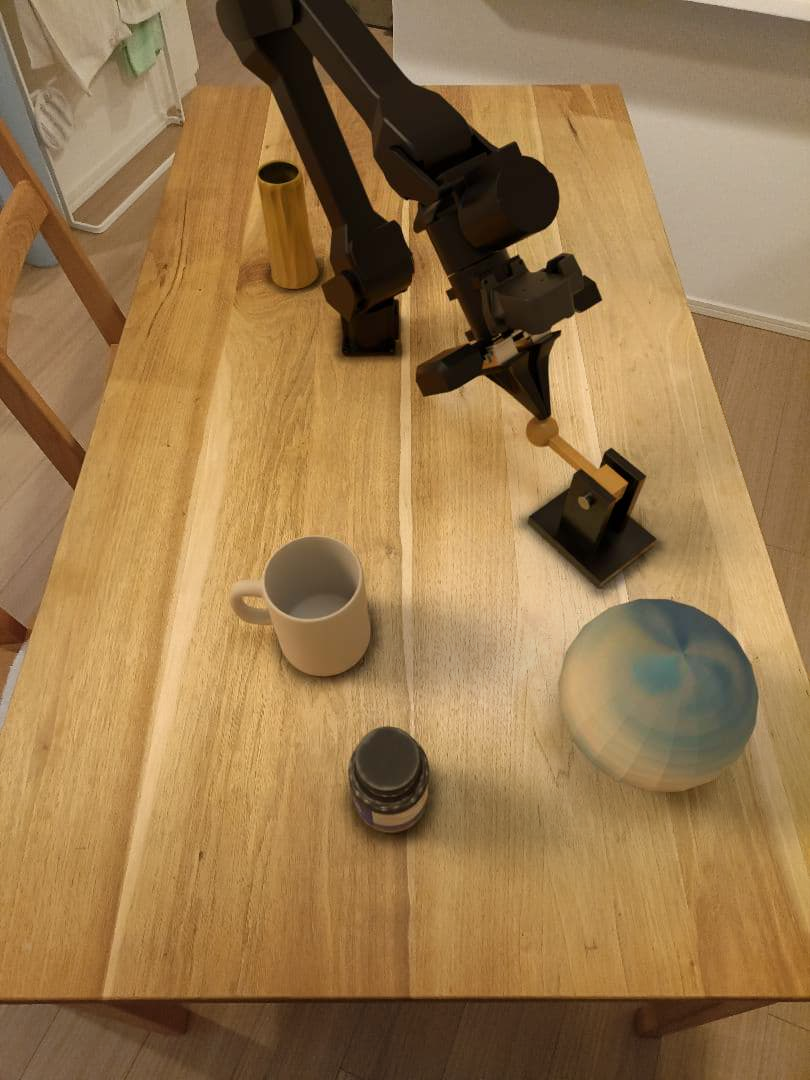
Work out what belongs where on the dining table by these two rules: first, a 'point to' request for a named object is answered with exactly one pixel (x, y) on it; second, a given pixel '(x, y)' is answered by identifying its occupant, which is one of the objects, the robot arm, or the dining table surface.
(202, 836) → the dining table surface
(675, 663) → the decorative ball
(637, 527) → the lever base
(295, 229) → the vase
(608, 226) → the dining table surface
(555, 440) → the ball knob lever
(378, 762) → the pill bottle
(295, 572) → the mug
